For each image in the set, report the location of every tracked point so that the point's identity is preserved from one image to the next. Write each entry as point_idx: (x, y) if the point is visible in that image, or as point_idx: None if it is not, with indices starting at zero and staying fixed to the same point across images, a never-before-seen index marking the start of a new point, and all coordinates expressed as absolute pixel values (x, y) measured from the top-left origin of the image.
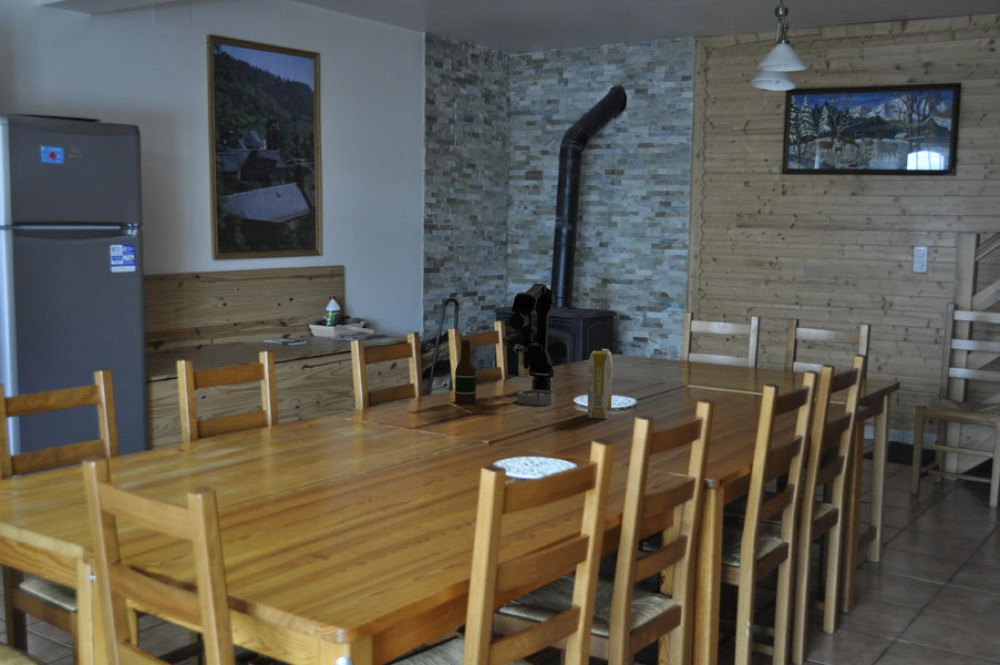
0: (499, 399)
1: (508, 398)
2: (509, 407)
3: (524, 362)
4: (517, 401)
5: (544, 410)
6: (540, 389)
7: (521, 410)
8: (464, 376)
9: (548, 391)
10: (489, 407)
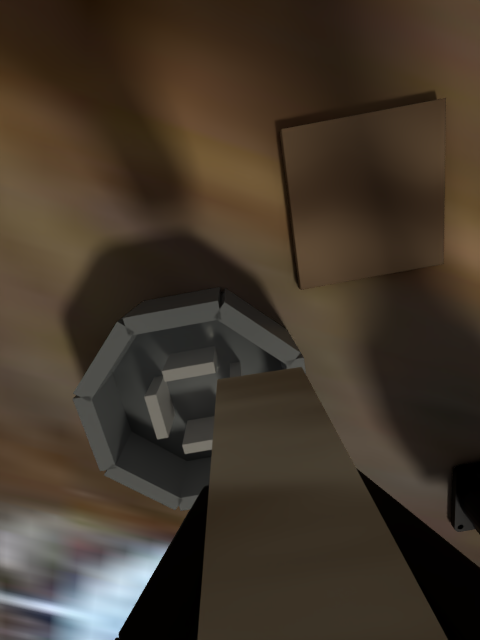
0: (321, 198)
1: (337, 266)
2: (105, 200)
3: (163, 579)
4: (225, 290)
5: (4, 370)
6: (476, 491)
7: (5, 246)
8: None
9: None
10: (118, 53)
